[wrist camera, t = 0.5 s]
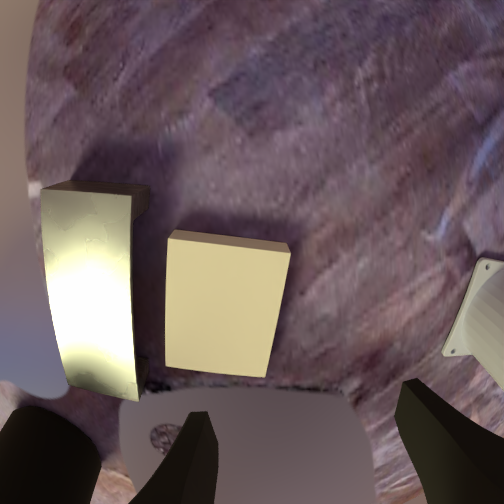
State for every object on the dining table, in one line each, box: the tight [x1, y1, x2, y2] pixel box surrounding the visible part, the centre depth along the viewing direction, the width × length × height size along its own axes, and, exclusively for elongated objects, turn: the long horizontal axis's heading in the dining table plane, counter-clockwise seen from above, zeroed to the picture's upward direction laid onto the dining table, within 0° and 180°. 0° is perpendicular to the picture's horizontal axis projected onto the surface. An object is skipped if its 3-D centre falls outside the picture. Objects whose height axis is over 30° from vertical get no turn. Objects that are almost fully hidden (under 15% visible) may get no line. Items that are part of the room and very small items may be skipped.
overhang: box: [41, 180, 150, 402], centre depth 16 cm, size 5×12×3 cm, turn 172°
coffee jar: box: [0, 406, 102, 504], centre depth 15 cm, size 11×11×18 cm
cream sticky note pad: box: [165, 229, 291, 377], centre depth 17 cm, size 6×8×2 cm
